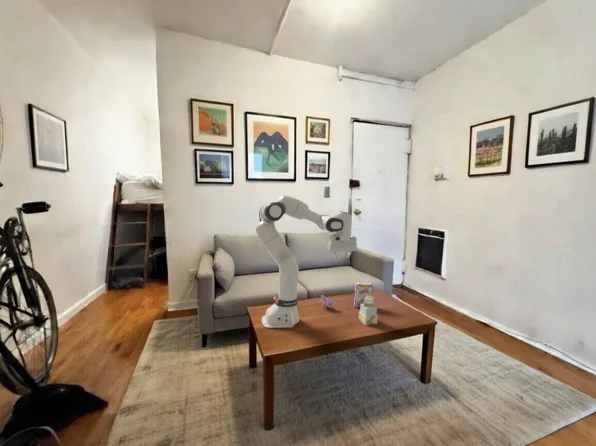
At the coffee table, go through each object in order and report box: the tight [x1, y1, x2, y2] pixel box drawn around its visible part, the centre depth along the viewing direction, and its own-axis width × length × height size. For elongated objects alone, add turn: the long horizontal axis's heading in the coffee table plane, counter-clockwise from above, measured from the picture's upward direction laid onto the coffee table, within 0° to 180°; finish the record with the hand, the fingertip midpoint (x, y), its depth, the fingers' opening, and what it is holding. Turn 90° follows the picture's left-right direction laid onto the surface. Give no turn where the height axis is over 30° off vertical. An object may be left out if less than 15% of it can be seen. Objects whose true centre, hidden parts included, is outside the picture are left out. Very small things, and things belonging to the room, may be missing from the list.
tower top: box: [359, 304, 378, 317], centre depth 161 cm, size 7×7×5 cm
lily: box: [317, 294, 338, 309], centre depth 178 cm, size 12×12×10 cm
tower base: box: [358, 310, 379, 326], centre depth 162 cm, size 8×8×5 cm
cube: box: [364, 296, 375, 308], centre depth 161 cm, size 5×5×5 cm
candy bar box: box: [353, 281, 374, 309], centre depth 182 cm, size 11×5×16 cm, turn 84°
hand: (341, 257), depth 174 cm, fingers open, 8 cm apart
